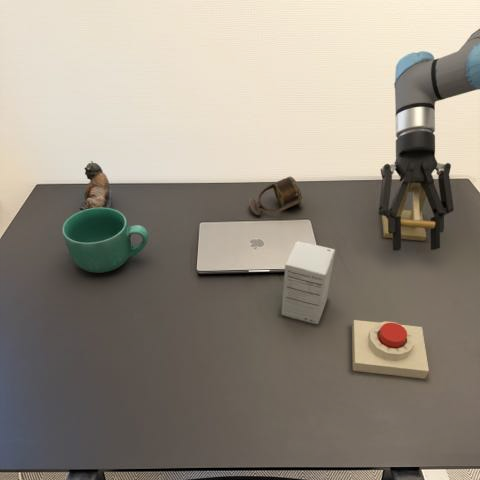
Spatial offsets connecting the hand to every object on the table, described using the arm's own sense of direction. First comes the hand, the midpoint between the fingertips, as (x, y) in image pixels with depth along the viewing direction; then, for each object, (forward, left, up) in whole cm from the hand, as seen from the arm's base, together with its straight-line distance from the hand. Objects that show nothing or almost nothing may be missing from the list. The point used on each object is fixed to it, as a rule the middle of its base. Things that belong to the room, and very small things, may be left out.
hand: (416, 249), depth 96 cm
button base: (+7, +25, -4) cm, 26 cm away
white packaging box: (+22, +16, -4) cm, 27 cm away
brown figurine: (+73, -10, -4) cm, 73 cm away
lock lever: (+1, -9, +4) cm, 10 cm away
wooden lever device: (+1, -14, -4) cm, 14 cm away
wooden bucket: (+31, -18, -4) cm, 36 cm away
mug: (+63, +8, -4) cm, 63 cm away
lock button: (+7, +25, -1) cm, 26 cm away
